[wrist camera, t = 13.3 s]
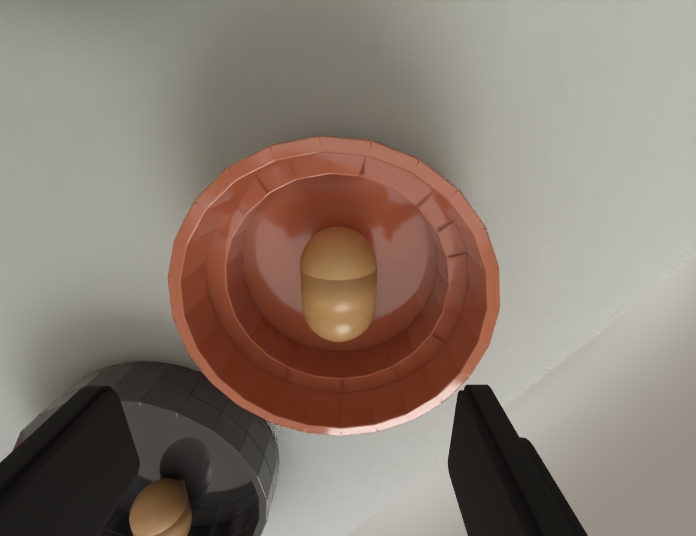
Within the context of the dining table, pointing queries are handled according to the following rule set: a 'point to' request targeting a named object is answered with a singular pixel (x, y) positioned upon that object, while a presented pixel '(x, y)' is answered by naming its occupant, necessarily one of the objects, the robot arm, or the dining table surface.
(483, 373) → the dining table surface
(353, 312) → the potato
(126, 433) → the robot arm
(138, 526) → the potato
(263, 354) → the bowl
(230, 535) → the skillet
